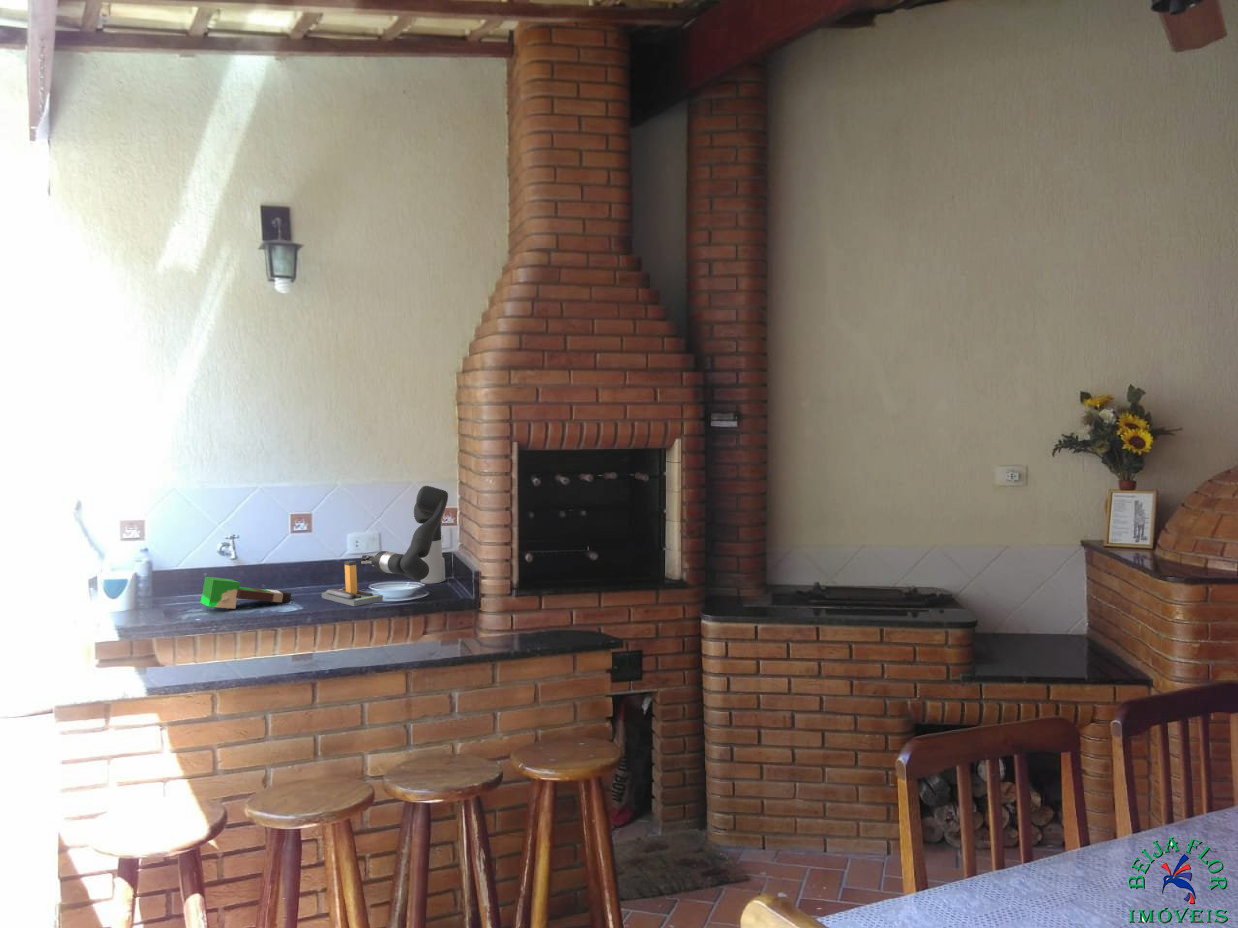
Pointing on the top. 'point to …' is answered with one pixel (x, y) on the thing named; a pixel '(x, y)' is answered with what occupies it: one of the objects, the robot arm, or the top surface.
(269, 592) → the toy
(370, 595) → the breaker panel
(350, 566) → the lever
